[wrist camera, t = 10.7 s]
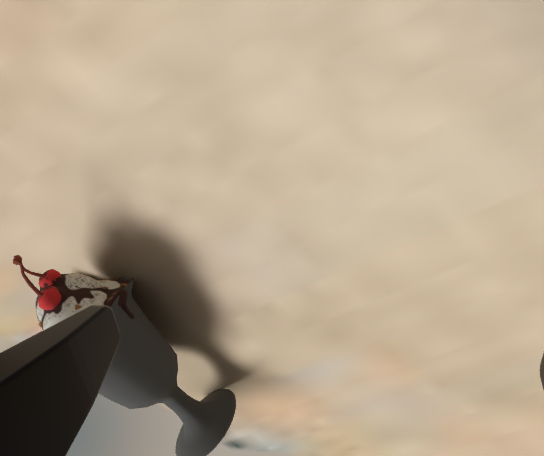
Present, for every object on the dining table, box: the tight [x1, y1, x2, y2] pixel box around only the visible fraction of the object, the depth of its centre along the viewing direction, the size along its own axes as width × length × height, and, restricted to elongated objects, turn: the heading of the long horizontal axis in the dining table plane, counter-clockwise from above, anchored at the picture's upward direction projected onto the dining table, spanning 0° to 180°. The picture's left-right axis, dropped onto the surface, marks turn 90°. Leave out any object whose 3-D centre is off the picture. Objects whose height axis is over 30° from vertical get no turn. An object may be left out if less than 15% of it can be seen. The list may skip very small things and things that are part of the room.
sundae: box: [13, 255, 236, 456], centre depth 24 cm, size 7×7×15 cm
